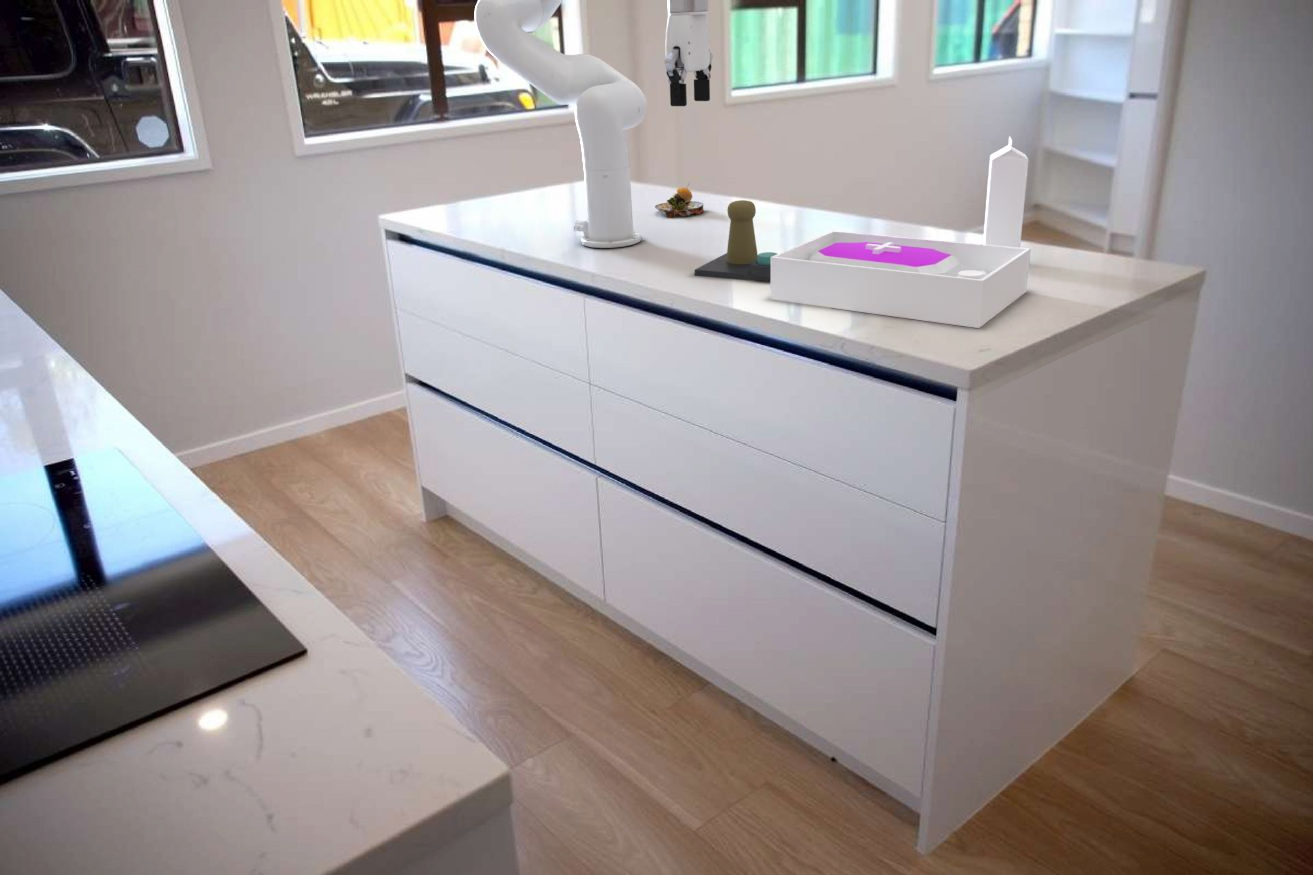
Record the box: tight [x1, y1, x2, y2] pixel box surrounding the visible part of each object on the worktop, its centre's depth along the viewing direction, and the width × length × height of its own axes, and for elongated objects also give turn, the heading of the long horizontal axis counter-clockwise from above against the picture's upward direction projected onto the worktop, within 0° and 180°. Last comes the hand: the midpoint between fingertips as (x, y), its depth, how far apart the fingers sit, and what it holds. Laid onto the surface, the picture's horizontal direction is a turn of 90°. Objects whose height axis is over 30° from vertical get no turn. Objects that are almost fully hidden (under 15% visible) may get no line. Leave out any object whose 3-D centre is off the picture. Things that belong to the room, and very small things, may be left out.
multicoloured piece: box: [654, 181, 705, 218], centre depth 237 cm, size 12×12×8 cm
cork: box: [726, 199, 759, 264], centre depth 184 cm, size 6×6×11 cm
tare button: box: [757, 251, 778, 265], centre depth 177 cm, size 4×4×2 cm
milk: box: [982, 135, 1030, 248], centre depth 175 cm, size 6×6×22 cm
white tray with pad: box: [770, 230, 1032, 329], centre depth 162 cm, size 22×35×7 cm, turn 54°
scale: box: [693, 252, 771, 283], centre depth 183 cm, size 17×15×3 cm
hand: (690, 103), depth 191 cm, fingers open, 9 cm apart
